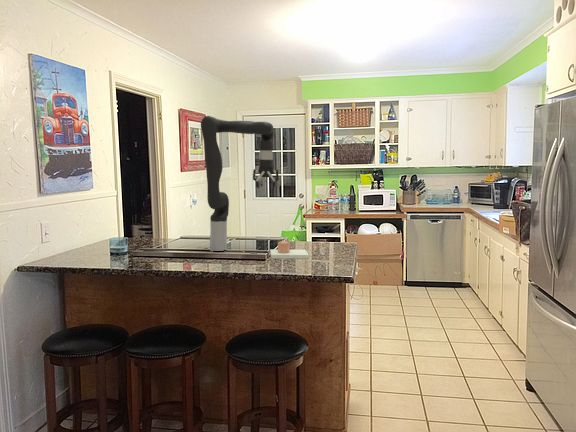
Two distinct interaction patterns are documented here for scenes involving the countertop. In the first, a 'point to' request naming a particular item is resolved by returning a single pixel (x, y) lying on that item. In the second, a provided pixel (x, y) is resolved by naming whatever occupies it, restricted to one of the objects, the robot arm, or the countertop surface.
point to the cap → (283, 247)
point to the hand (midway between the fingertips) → (265, 188)
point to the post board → (289, 254)
